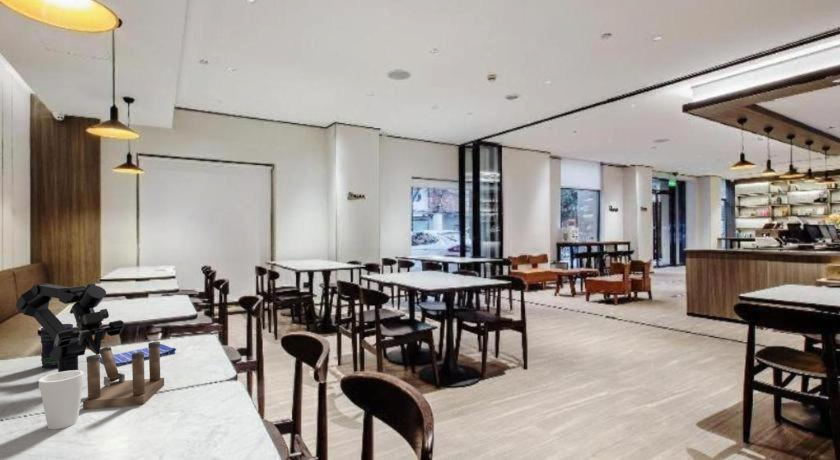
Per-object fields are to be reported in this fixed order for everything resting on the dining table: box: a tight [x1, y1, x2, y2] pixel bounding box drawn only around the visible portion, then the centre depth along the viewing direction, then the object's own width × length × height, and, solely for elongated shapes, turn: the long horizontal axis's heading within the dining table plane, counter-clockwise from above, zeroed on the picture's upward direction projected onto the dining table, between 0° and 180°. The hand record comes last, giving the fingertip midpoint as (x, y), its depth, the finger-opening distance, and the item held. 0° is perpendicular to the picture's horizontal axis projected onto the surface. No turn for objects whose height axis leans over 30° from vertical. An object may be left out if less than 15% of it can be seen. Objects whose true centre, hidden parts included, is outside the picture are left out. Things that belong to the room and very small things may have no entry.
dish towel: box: [100, 343, 177, 368], centre depth 180 cm, size 17×24×3 cm
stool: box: [82, 341, 165, 410], centre depth 137 cm, size 17×17×15 cm
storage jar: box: [40, 323, 74, 370], centre depth 170 cm, size 10×10×15 cm
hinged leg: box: [99, 346, 120, 382], centre depth 143 cm, size 3×3×11 cm
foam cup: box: [38, 369, 85, 430], centre depth 118 cm, size 10×9×13 cm
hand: (98, 353), depth 148 cm, fingers closed
